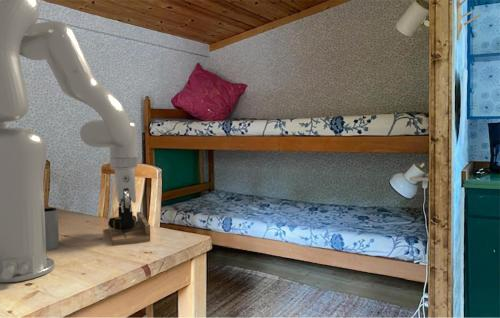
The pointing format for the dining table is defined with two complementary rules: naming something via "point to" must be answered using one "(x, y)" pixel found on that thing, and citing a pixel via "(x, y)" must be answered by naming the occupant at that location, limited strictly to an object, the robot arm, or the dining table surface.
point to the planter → (51, 228)
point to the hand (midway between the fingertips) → (125, 222)
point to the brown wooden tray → (131, 232)
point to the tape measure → (116, 223)
